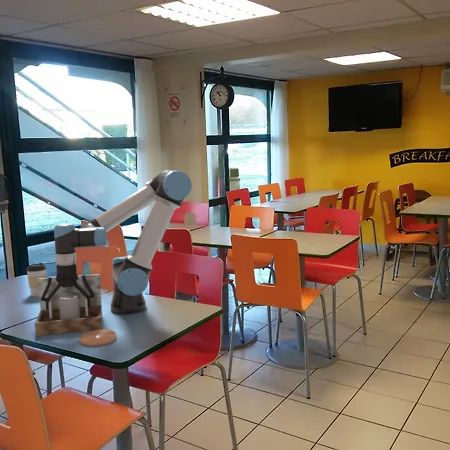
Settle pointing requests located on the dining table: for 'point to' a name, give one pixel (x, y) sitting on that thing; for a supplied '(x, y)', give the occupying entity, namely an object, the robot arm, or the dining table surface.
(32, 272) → the coffee cup
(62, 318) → the can
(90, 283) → the hinged wooden box
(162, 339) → the dining table surface
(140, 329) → the dining table surface
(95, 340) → the brown wooden disc
